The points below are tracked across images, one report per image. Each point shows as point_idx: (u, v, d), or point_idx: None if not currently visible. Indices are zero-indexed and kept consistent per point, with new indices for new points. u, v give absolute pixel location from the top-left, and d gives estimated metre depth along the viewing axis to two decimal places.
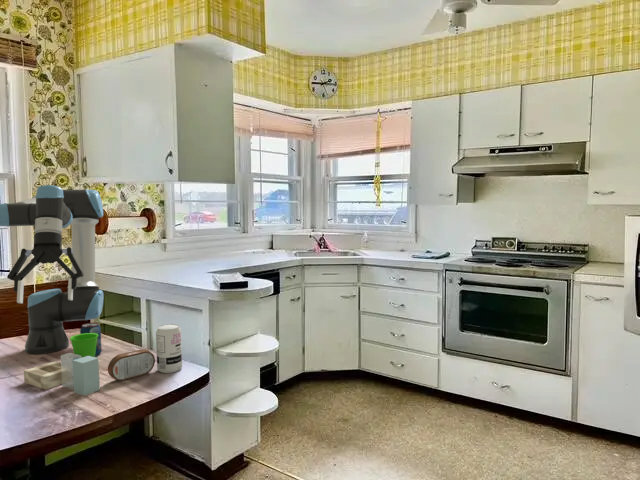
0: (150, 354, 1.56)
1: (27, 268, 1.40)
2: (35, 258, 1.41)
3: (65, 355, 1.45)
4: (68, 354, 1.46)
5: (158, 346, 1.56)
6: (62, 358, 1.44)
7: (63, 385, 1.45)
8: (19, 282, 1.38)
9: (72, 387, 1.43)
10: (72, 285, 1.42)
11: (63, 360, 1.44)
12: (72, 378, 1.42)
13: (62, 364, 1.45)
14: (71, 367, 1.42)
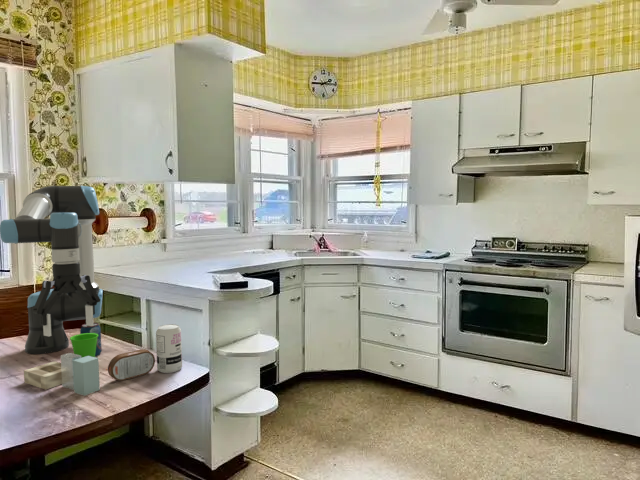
0: (150, 354, 1.56)
1: (54, 301, 1.38)
2: (62, 290, 1.40)
3: (65, 355, 1.45)
4: (68, 354, 1.46)
5: (157, 346, 1.56)
6: (62, 358, 1.44)
7: (63, 385, 1.45)
8: (49, 316, 1.37)
9: (72, 387, 1.43)
10: None
11: (63, 360, 1.44)
12: (72, 378, 1.42)
13: (62, 364, 1.45)
14: (71, 367, 1.42)
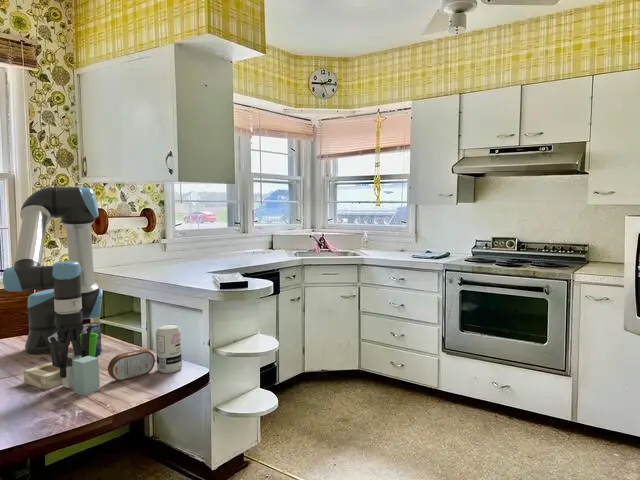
0: (150, 354, 1.56)
1: (66, 352, 1.42)
2: (68, 340, 1.42)
3: None
4: (68, 354, 1.46)
5: (157, 346, 1.56)
6: None
7: None
8: (68, 369, 1.43)
9: (72, 387, 1.43)
10: None
11: None
12: (72, 378, 1.42)
13: None
14: (71, 367, 1.42)
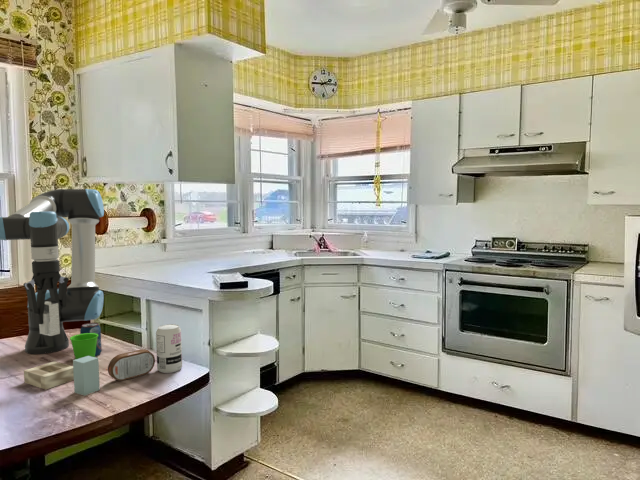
0: (150, 354, 1.56)
1: (43, 299, 1.46)
2: (45, 288, 1.46)
3: None
4: (45, 302, 1.49)
5: (158, 346, 1.56)
6: None
7: None
8: (45, 315, 1.46)
9: (49, 333, 1.47)
10: None
11: None
12: (49, 324, 1.46)
13: None
14: (48, 314, 1.46)
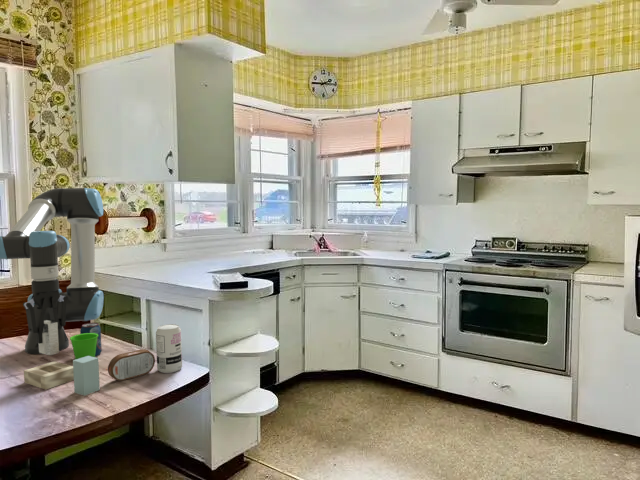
0: (150, 354, 1.56)
1: (43, 318, 1.46)
2: (44, 307, 1.46)
3: None
4: (45, 321, 1.50)
5: (157, 346, 1.56)
6: None
7: None
8: (44, 335, 1.47)
9: (48, 352, 1.47)
10: None
11: None
12: (48, 344, 1.47)
13: None
14: (47, 333, 1.46)
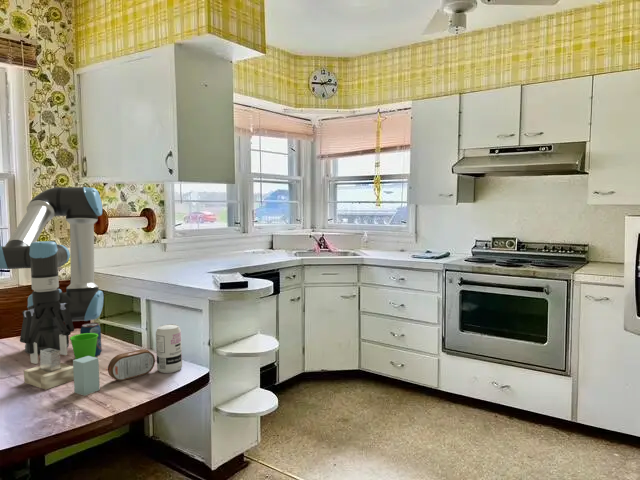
0: (150, 354, 1.56)
1: (38, 329, 1.45)
2: (43, 317, 1.46)
3: (44, 350, 1.50)
4: (47, 349, 1.51)
5: (157, 346, 1.56)
6: (41, 352, 1.50)
7: None
8: (35, 345, 1.45)
9: None
10: None
11: (42, 354, 1.50)
12: None
13: (41, 359, 1.50)
14: (49, 361, 1.48)
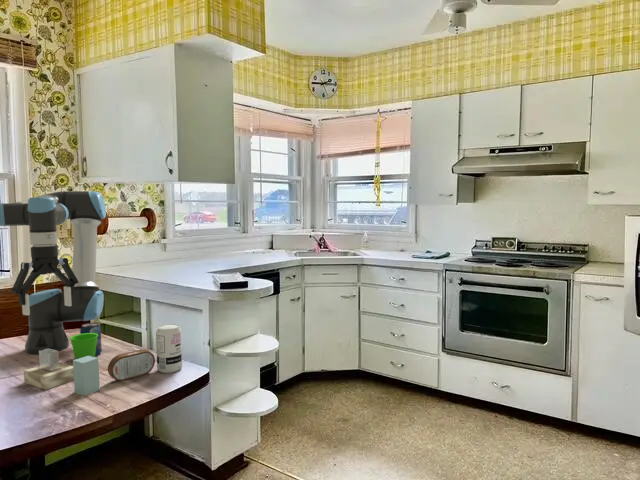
0: (150, 354, 1.56)
1: (32, 282, 1.45)
2: (40, 272, 1.46)
3: (43, 350, 1.50)
4: (46, 349, 1.51)
5: (157, 346, 1.56)
6: (40, 353, 1.49)
7: None
8: (27, 296, 1.44)
9: None
10: None
11: (41, 355, 1.49)
12: None
13: (40, 359, 1.50)
14: (48, 362, 1.47)
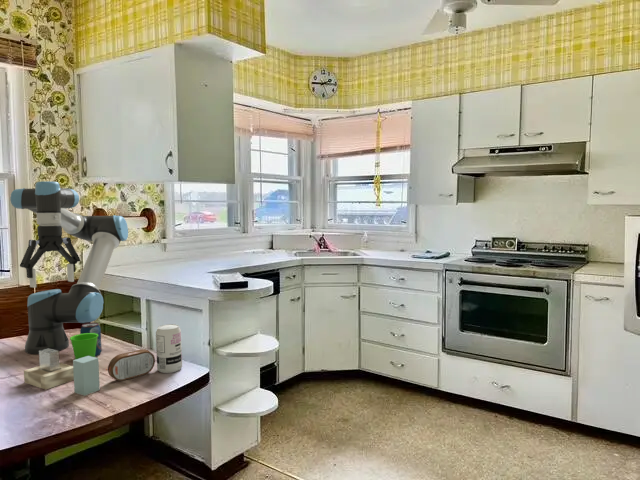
0: (150, 354, 1.56)
1: (39, 257, 1.60)
2: (45, 248, 1.62)
3: (43, 350, 1.50)
4: (46, 349, 1.51)
5: (157, 346, 1.56)
6: (40, 353, 1.49)
7: None
8: (34, 270, 1.59)
9: None
10: None
11: (41, 355, 1.49)
12: None
13: (40, 359, 1.50)
14: (48, 362, 1.47)
